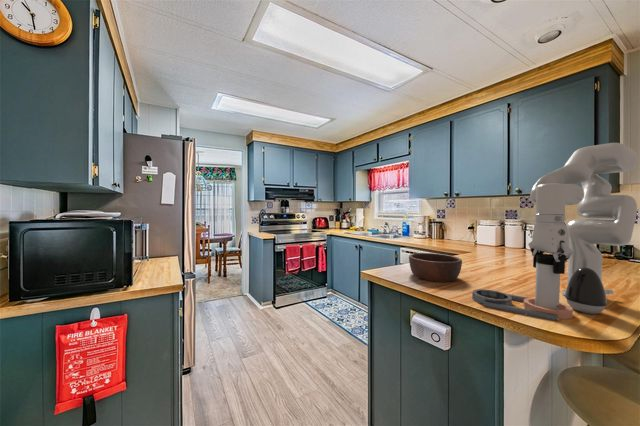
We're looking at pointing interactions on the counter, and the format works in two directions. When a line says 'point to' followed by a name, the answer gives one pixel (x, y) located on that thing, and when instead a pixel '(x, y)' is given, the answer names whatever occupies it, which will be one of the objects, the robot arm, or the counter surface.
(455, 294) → the counter surface
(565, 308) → the marked socket
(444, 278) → the wooden bowl
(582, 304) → the dark gray tall dome
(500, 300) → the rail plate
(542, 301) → the travel mug
